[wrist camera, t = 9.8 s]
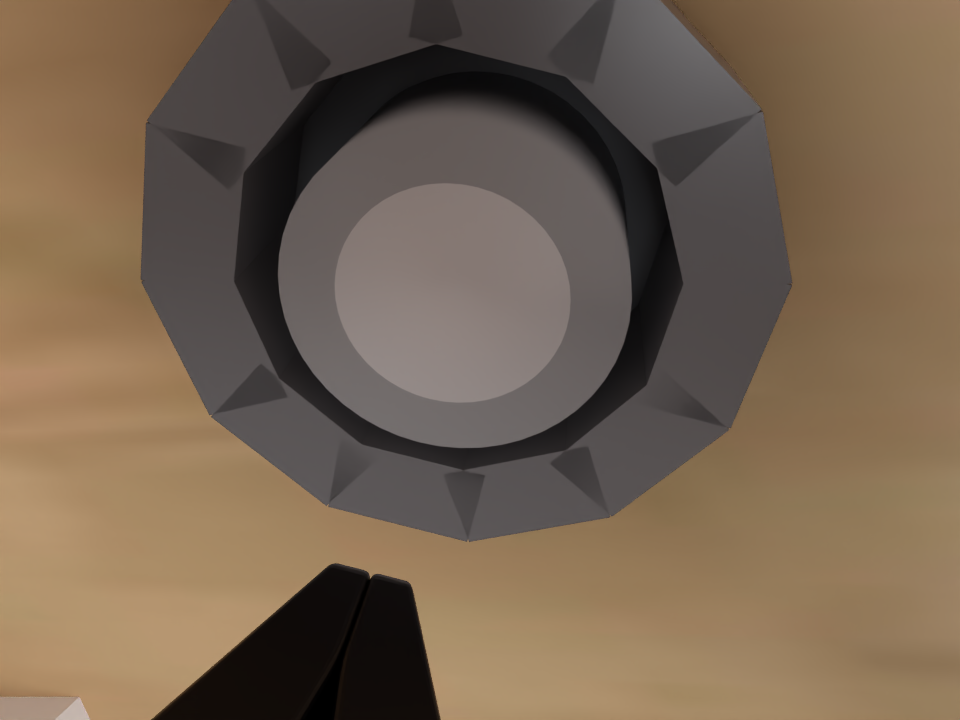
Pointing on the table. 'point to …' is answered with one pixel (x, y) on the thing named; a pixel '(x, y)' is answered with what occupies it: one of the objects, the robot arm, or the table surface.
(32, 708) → the white bracket plate
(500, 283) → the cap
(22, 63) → the table surface
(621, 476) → the grey ring
